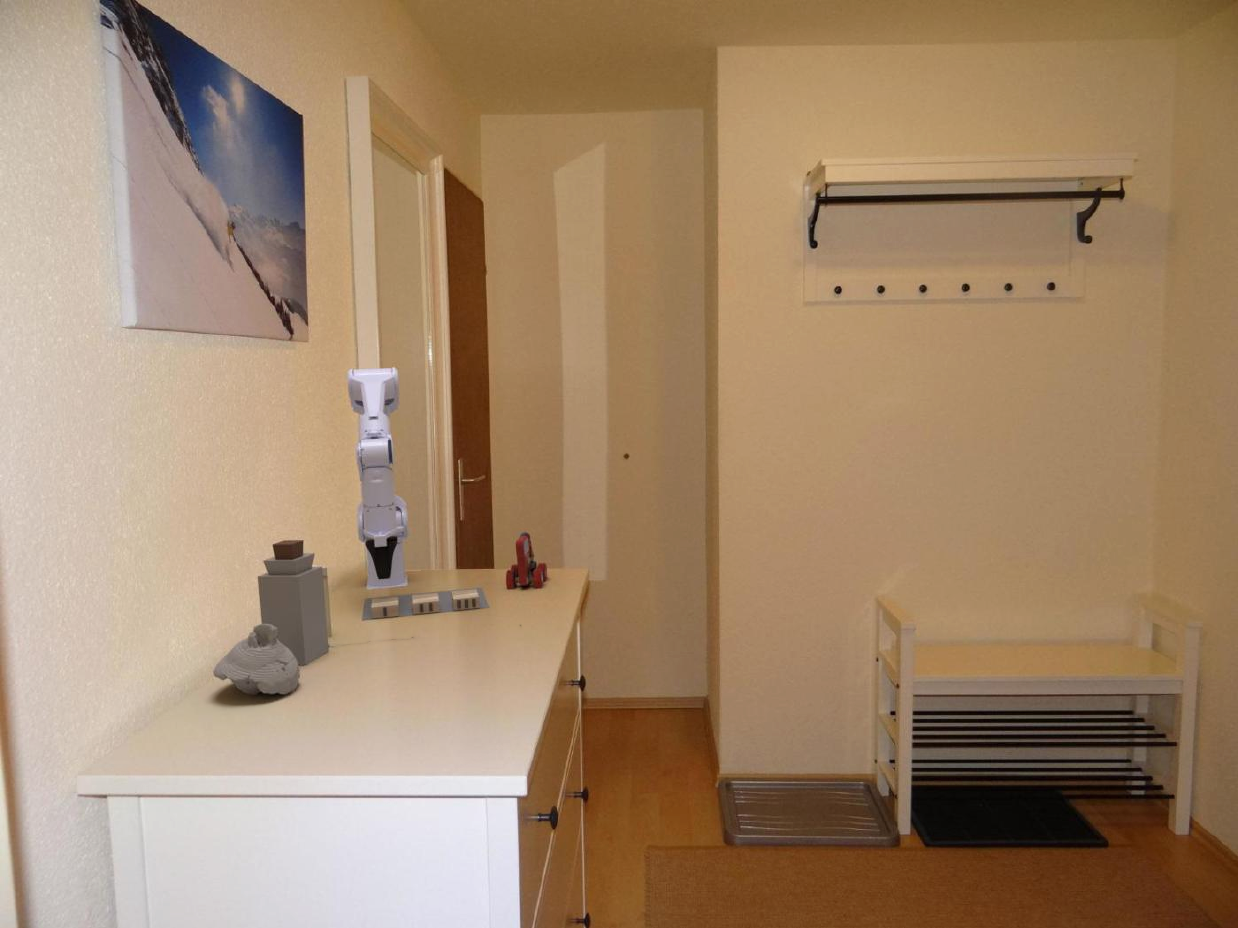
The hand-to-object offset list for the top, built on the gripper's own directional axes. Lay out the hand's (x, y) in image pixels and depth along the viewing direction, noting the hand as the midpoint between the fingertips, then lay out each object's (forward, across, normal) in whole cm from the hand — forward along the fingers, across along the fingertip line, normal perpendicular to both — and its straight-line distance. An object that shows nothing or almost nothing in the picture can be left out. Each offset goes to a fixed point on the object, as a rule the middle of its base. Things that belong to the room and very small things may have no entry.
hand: (384, 578), depth 167 cm
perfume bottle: (+6, -25, +13) cm, 29 cm away
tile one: (+4, -3, 0) cm, 5 cm away
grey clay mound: (+6, -38, +16) cm, 42 cm away
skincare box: (+6, -17, +12) cm, 21 cm away
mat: (+6, -1, -7) cm, 9 cm away
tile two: (+4, -3, -7) cm, 9 cm away
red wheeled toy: (+6, +7, -27) cm, 29 cm away
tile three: (+4, -3, -14) cm, 15 cm away
